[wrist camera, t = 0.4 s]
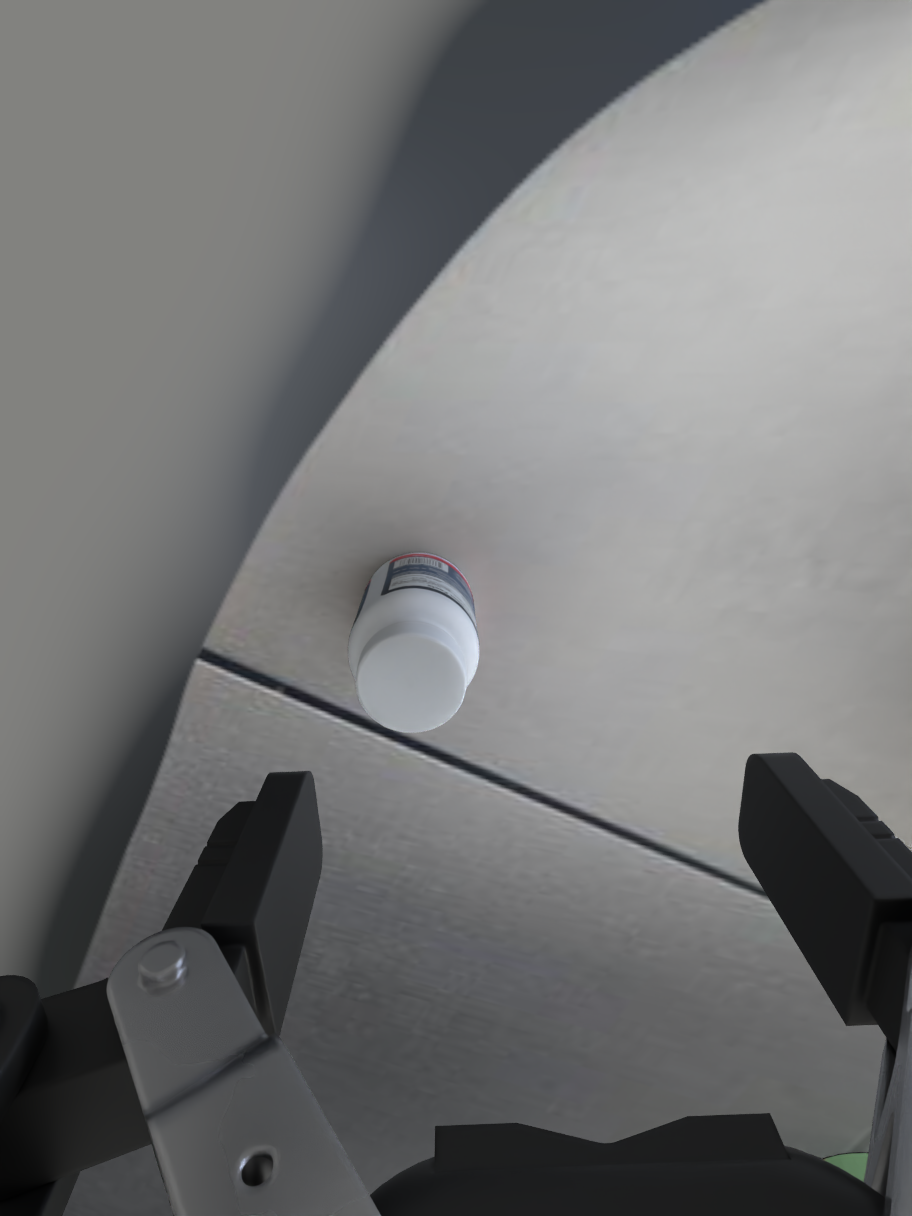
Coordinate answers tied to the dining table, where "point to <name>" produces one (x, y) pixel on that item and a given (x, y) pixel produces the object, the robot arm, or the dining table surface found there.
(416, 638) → the pill bottle
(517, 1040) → the dining table surface
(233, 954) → the robot arm
